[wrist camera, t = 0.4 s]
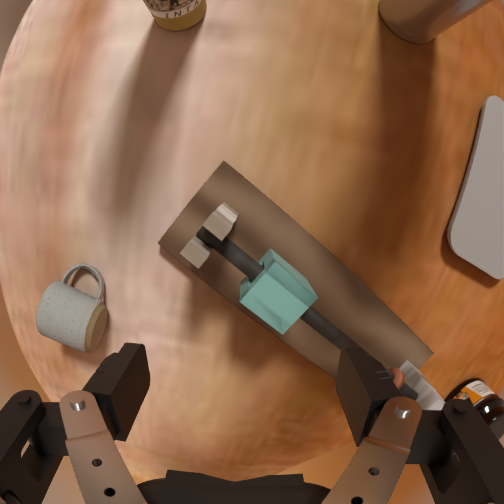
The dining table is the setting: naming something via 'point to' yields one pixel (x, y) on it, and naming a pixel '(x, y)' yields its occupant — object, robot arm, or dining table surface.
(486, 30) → the dining table surface
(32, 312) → the dining table surface
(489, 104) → the tablet
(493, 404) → the supplement container
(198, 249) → the stand
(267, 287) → the sleeve
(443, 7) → the robot arm
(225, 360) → the dining table surface
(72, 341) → the ceramic mug
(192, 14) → the paper tube
